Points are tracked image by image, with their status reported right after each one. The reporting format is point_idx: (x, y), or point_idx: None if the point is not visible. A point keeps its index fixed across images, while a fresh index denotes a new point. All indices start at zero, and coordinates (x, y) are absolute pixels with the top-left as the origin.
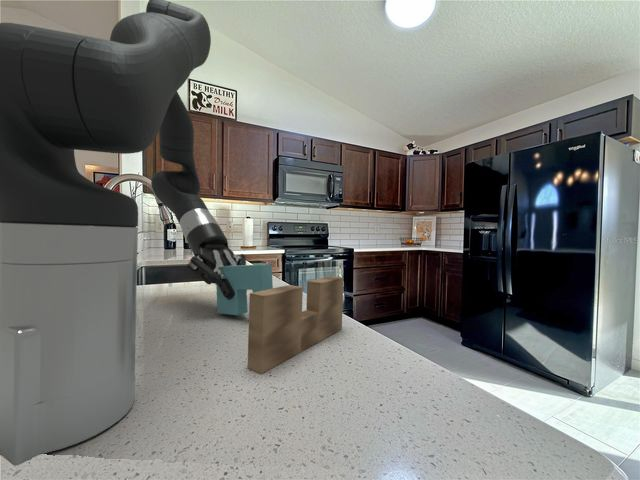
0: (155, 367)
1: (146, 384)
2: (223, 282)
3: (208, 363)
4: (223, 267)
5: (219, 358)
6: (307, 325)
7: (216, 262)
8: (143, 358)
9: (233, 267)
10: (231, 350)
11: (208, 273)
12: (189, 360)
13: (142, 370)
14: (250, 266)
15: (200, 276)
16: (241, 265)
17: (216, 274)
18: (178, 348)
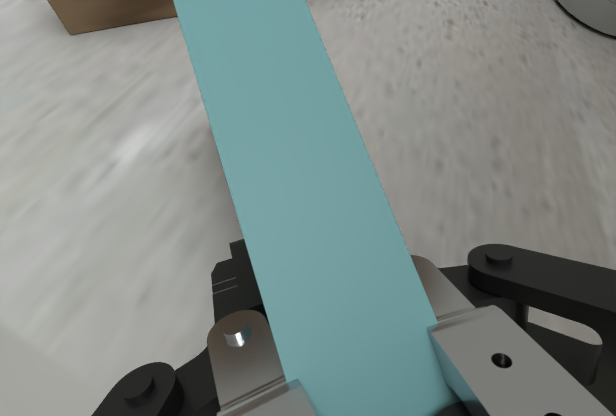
0: (537, 57)
1: (540, 16)
2: None
3: (444, 24)
4: (428, 308)
5: (421, 30)
6: None
7: (551, 360)
8: (569, 104)
9: (360, 146)
10: (390, 47)
11: (554, 262)
12: (478, 51)
13: (557, 58)
14: None
15: (598, 349)
16: (265, 150)
17: (477, 264)
18: (502, 114)
